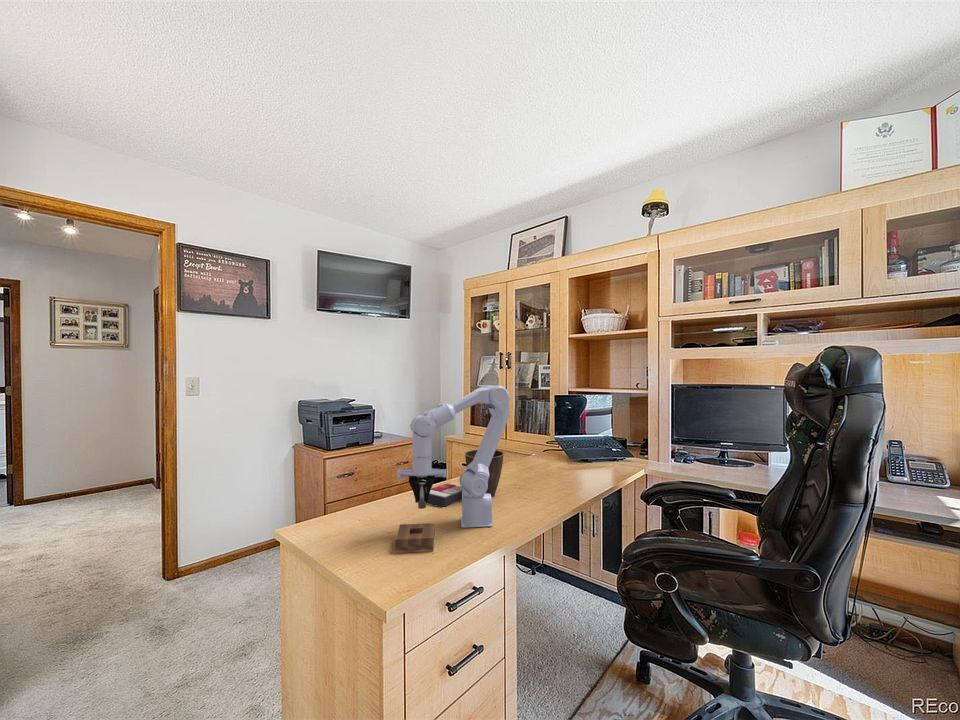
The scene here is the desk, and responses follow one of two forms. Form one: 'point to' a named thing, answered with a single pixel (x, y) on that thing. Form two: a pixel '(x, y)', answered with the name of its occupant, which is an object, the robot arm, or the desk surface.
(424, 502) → the pin
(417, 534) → the bore block
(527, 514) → the desk surface
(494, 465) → the plant pot
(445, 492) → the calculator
